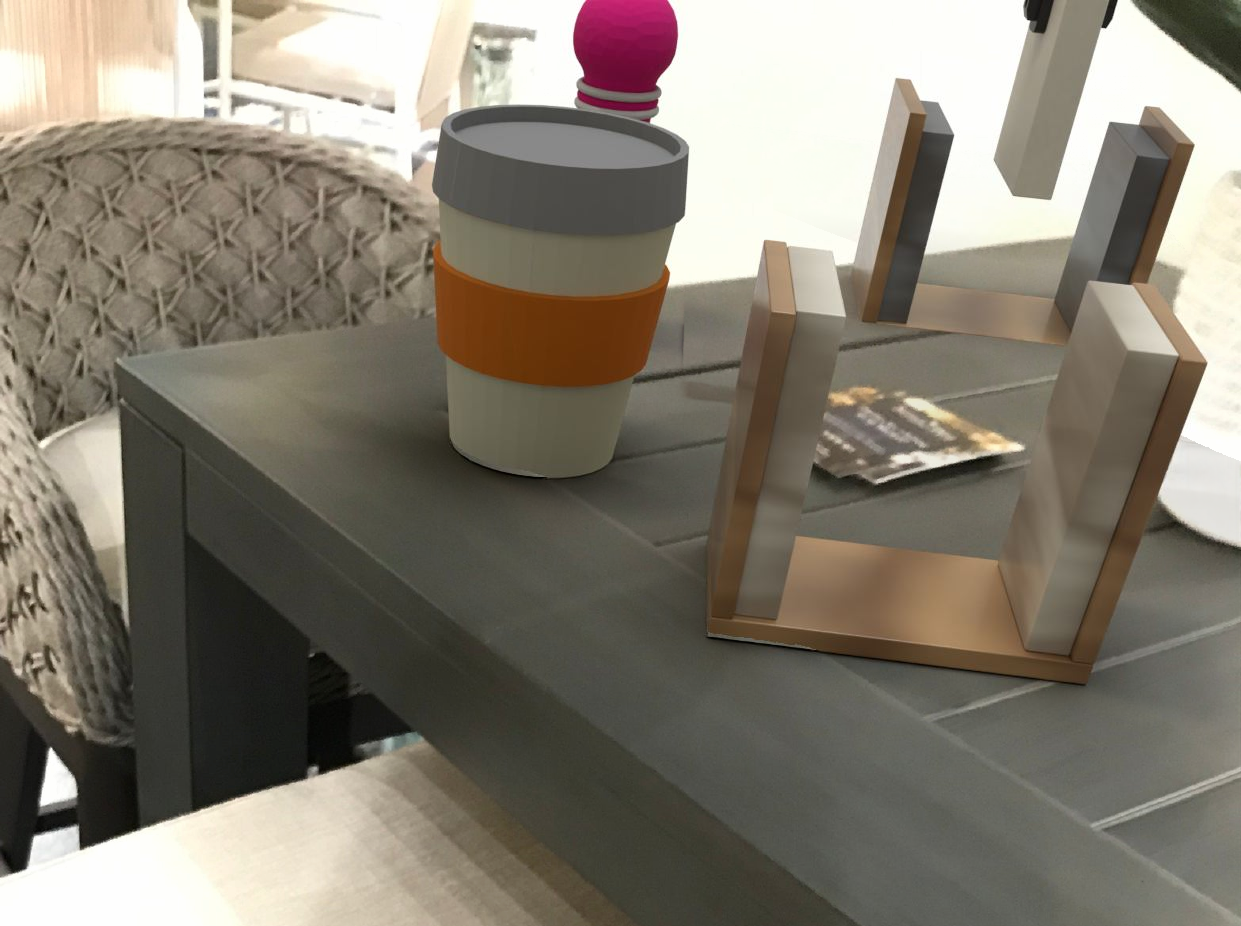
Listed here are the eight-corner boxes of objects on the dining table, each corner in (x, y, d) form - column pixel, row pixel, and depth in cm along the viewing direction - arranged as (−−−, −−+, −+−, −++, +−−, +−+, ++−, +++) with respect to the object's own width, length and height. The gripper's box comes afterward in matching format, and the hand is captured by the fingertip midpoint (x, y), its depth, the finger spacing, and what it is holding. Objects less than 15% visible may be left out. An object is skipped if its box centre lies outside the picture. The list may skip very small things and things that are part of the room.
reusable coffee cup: (677, 434, 91) (728, 134, 81) (597, 512, 82) (644, 186, 72) (473, 385, 94) (498, 90, 84) (376, 455, 85) (390, 135, 75)
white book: (1029, 164, 106) (1095, -75, 98) (1051, 200, 100) (1124, -52, 91) (992, 160, 107) (1056, -79, 98) (1012, 196, 100) (1081, -57, 91)
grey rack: (1091, 318, 113) (1160, 107, 104) (1119, 367, 105) (1195, 144, 96) (847, 290, 113) (895, 77, 105) (857, 336, 106) (910, 112, 97)
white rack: (1050, 586, 79) (1155, 284, 70) (1086, 685, 72) (1208, 362, 63) (706, 543, 80) (764, 238, 71) (706, 637, 73) (771, 310, 63)
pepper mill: (664, 325, 104) (722, -45, 91) (611, 353, 100) (665, -33, 86) (567, 298, 107) (610, -66, 94) (511, 324, 102) (548, -55, 89)
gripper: (1046, -355, 84) (953, 33, 95) (1318, -330, 83) (1191, 58, 95) (1025, -357, 89) (939, 11, 101) (1279, -333, 89) (1164, 34, 100)
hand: (1062, 32), depth 98 cm, fingers closed on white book, 2 cm apart
